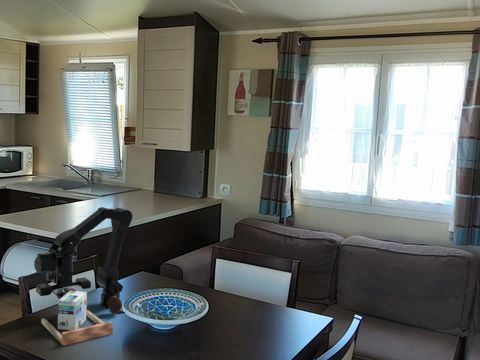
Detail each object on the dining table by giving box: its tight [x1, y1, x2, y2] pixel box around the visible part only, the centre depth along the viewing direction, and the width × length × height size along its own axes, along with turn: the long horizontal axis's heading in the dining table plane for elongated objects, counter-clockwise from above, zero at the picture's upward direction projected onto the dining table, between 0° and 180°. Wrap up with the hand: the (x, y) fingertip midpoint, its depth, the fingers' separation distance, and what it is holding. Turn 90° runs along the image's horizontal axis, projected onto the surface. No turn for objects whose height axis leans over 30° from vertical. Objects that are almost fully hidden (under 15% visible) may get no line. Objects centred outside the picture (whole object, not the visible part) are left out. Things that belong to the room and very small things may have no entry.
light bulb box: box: [57, 290, 88, 331], centre depth 175 cm, size 11×7×11 cm, turn 177°
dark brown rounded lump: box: [107, 296, 124, 314], centre depth 191 cm, size 8×8×7 cm
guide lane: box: [40, 309, 114, 346], centre depth 173 cm, size 17×22×4 cm
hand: (63, 308), depth 182 cm, fingers closed
